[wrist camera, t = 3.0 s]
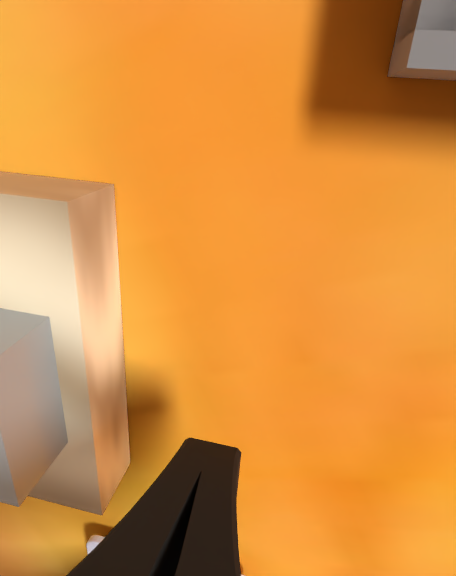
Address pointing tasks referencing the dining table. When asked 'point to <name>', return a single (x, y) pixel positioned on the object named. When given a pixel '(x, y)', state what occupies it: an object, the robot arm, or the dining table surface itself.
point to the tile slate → (27, 404)
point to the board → (72, 322)
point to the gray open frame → (425, 41)
